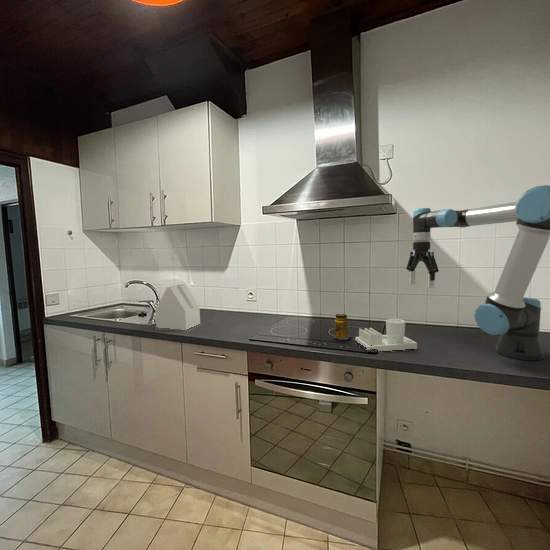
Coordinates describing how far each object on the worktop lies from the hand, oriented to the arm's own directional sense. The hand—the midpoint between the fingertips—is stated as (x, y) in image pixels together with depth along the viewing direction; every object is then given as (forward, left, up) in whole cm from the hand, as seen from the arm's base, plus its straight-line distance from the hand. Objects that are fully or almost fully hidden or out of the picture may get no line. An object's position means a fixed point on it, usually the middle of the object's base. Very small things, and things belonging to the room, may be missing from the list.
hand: (421, 285), depth 148 cm
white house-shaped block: (+48, +122, -25) cm, 133 cm away
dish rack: (-10, +24, -25) cm, 36 cm away
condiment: (+5, +38, -25) cm, 46 cm away
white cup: (-11, +20, -23) cm, 33 cm away
